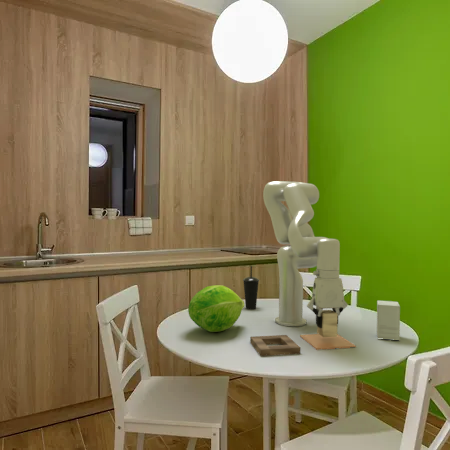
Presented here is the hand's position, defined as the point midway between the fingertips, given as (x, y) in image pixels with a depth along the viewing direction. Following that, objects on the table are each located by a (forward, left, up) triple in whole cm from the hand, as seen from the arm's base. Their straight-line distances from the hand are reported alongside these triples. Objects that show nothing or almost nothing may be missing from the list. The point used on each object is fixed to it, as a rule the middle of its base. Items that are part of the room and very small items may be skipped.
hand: (327, 326), depth 134 cm
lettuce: (-19, -35, -6) cm, 40 cm away
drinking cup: (-51, -14, -6) cm, 53 cm away
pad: (0, 0, -5) cm, 5 cm away
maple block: (0, 0, -3) cm, 3 cm away
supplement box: (-1, +24, -6) cm, 25 cm away
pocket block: (+3, -20, -5) cm, 21 cm away
